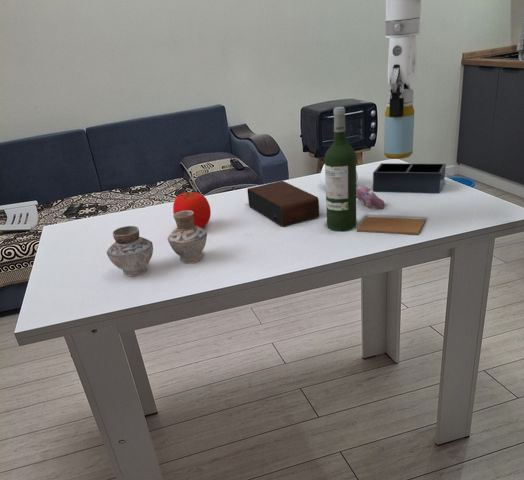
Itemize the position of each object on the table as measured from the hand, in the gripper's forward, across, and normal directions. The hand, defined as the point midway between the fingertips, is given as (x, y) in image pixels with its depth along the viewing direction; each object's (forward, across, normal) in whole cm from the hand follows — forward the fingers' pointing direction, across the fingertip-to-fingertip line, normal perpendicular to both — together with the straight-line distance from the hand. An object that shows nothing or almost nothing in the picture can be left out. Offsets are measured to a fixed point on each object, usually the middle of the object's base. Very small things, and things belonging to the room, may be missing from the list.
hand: (399, 112), depth 131 cm
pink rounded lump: (+28, +11, +11) cm, 32 cm away
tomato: (+27, -14, +55) cm, 63 cm away
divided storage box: (+27, +30, +3) cm, 41 cm away
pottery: (+27, -39, +50) cm, 69 cm away
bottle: (+10, 0, 0) cm, 10 cm away
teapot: (+27, +28, +25) cm, 46 cm away
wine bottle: (+28, -6, +14) cm, 31 cm away
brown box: (+27, +3, +34) cm, 44 cm away
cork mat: (+27, -4, 0) cm, 28 cm away
